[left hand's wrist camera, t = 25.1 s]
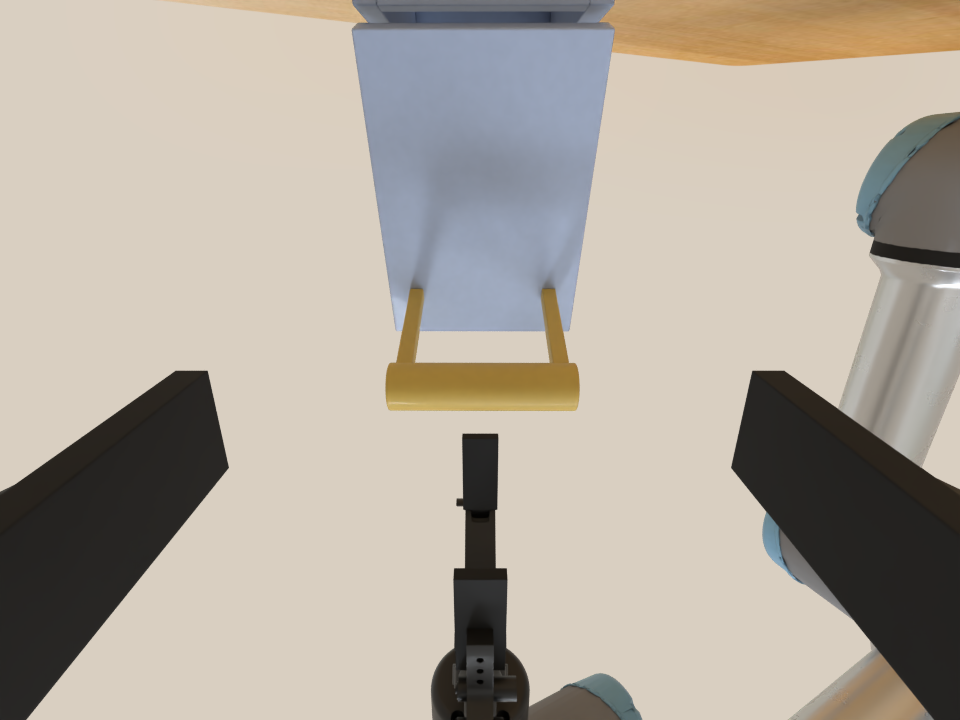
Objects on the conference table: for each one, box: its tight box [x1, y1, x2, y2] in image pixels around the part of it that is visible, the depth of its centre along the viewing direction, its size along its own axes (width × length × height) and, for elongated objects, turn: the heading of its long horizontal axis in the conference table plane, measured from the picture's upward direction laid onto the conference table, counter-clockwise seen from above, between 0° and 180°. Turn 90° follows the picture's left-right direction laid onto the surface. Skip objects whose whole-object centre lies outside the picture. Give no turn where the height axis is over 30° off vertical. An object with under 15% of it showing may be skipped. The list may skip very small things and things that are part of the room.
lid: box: [352, 23, 615, 411], centre depth 20 cm, size 14×10×9 cm
